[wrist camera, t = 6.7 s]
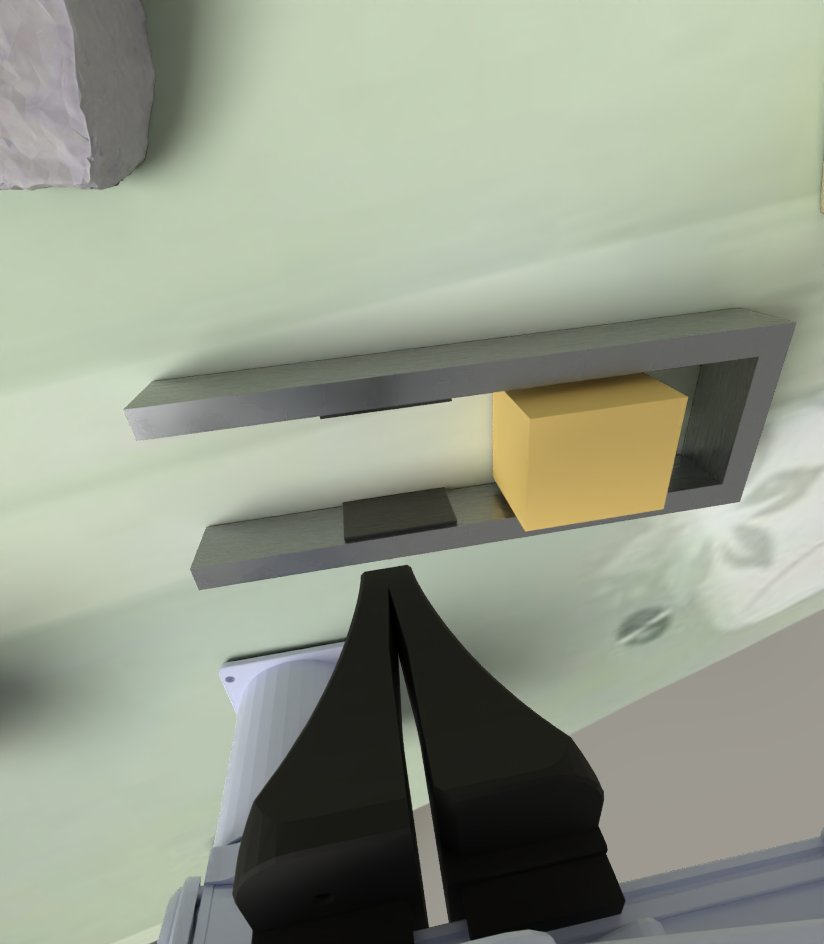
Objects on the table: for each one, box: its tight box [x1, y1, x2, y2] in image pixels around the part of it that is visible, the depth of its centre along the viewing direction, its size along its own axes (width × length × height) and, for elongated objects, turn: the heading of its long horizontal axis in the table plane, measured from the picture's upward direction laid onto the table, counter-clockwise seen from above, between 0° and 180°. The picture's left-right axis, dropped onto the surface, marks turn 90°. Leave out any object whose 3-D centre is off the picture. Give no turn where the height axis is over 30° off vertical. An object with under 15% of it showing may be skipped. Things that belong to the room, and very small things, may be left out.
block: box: [493, 372, 688, 532], centre depth 20 cm, size 5×6×4 cm
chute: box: [124, 308, 796, 590], centre depth 21 cm, size 8×25×3 cm, turn 95°
